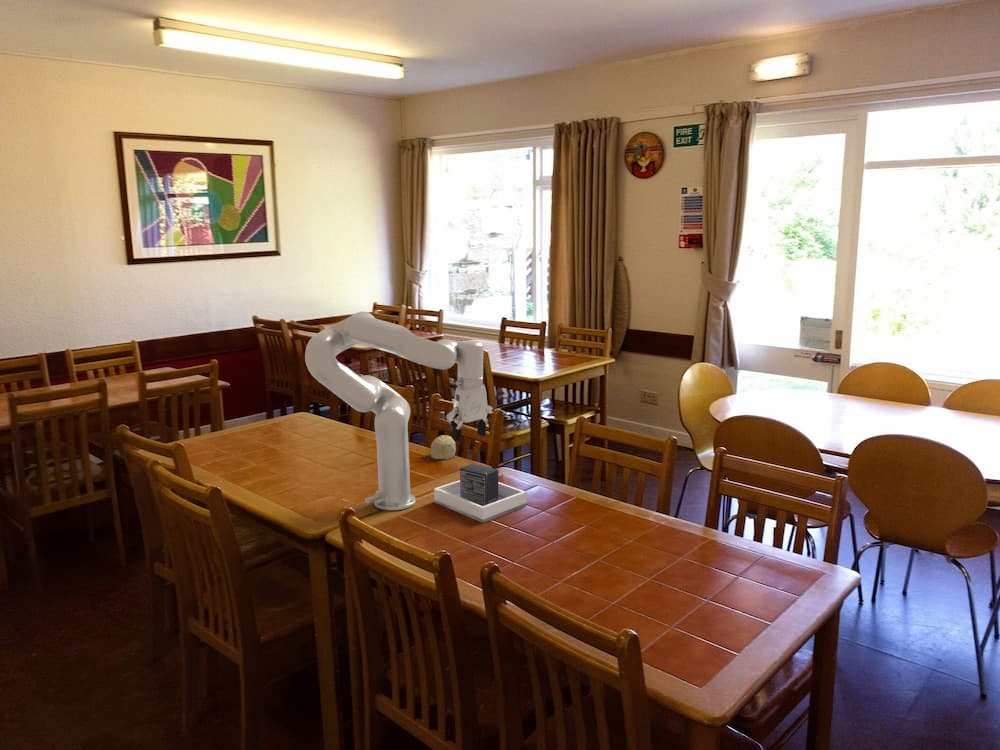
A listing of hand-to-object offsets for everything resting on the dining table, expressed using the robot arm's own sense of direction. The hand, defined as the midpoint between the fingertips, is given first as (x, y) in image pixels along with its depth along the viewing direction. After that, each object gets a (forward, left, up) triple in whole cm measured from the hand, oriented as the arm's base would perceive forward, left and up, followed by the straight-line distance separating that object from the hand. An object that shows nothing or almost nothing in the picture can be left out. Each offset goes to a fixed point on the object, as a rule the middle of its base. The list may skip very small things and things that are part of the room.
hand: (469, 438), depth 215 cm
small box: (+1, -3, -20) cm, 20 cm away
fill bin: (+1, -3, -21) cm, 21 cm away
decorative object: (+23, +41, -21) cm, 51 cm away
